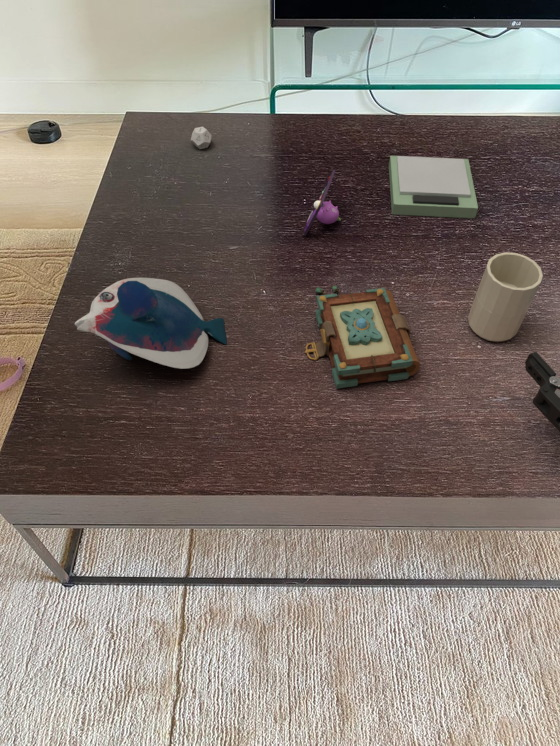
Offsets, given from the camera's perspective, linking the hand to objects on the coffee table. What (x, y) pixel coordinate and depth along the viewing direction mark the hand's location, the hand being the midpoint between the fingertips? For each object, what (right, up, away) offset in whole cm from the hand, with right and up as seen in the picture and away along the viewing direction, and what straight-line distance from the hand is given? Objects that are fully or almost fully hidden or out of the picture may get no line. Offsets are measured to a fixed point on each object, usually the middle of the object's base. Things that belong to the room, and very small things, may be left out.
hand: (558, 345), depth 73 cm
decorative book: (-23, +2, +10) cm, 25 cm away
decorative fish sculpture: (-48, +1, +9) cm, 49 cm away
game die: (-46, +37, +36) cm, 69 cm away
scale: (-8, +27, +29) cm, 40 cm away
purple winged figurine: (-26, +20, +24) cm, 41 cm away
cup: (-4, +3, +11) cm, 12 cm away
